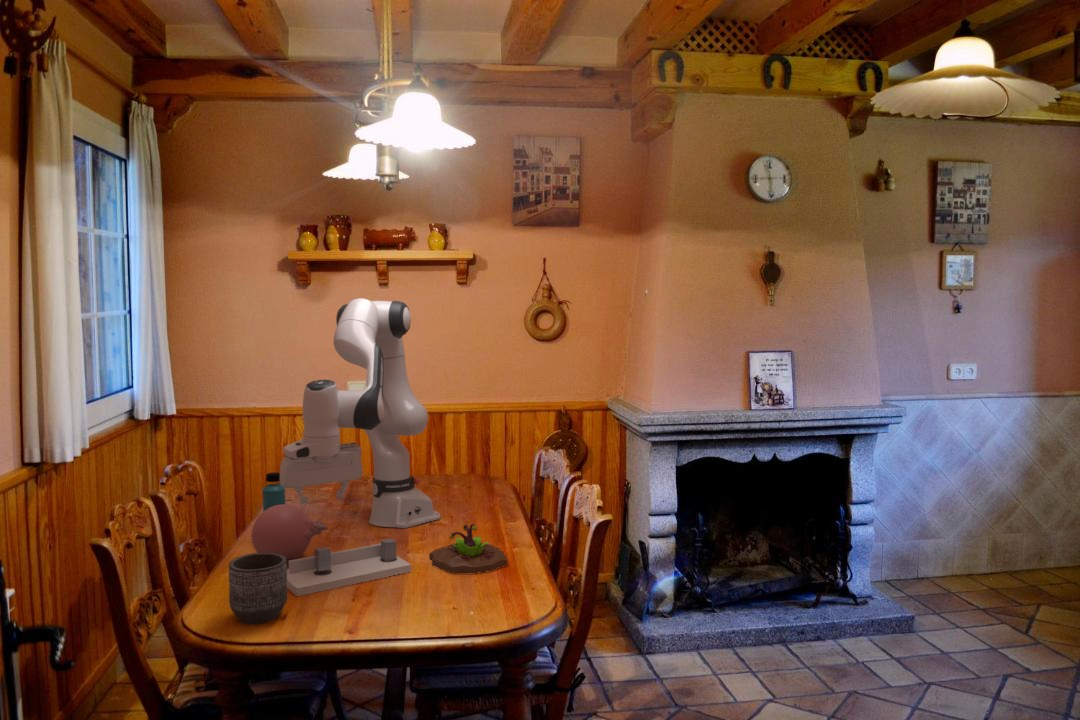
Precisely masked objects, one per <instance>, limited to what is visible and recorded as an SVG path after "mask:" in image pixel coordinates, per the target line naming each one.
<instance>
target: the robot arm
mask: <svg viewBox="0 0 1080 720" xmlns="http://www.w3.org/2000/svg"><path fill="white" fill-rule="evenodd" d="M336 313H337V314H336V327H335V331H334V333H333V334H334V335H333V347H334V350H335V351H336V352H337V354H338V356H340V357H341V358H342V359H343V360H344V361H346V362H348V363H349V364H351V365H356V366H359V367H361V368H363V369H365V370H366V377H365V379H366V380H365V387H364V388H363V389H359V390H341V389H338V386H337V383H336V382H335V381H333V380H330V379H316V380H313V381H309V382H308V383H307V384H305V386H304V387H305V388H304V391H303V396H302V399H303V400H302V420H303V424H304V427H303V428H304V429H303V430H302V431H303V432H302V438H301V439H299V440H297V441H295V442H292V443H290V444H287V445H286V446H284V447H283V454H284V455H285V456H284V457H283V458H282V460H281V462H280V466H279V467H280V468H279V469H280V470H279V473H280V481H279V484H281V485H282V486H283V487H285V490H286V489H287V490H288V489H294V491H295V492H296V494H297V495H298V497H299V504H300V505H307V504H308V503H309V502H308V500H309V497H308V496H307V495H304V494H303V491H304V487H309V486H311V487H312V486H317V485H324V484H331V483H339V482H340V484H341V486H340V488H339V490H336V498H337V499H338V500H341V499H345V497H346V496H345V492H346V490H347V488H348V487H349V485H350V484H349V483H350V482H349V481H352V480H359V479H361V477H362V476H363V467H362V460H361V456H362V447H361V446H360V444H358V443H356V442H350V443H341V437H340V436H341V435H340V434H341V433H340V432H341V431H340V428H342V429H344V428H345V429H358V430H363V431H364V432H365V433H366V435H367V437H368V440H369V443H370V446H371V449H372V455H373V456H372V457H373V474H374V475H373V477H372V496H373V498H372V499H373V500H372V505H371V507H372V508H371V513H370V517H369V520H368V522H369V524H370V525H373V526H377V527H383V528H384V527H385V528H398V529H407V528H411V527H414V526H418V525H423V524H427V523H430V521H431V522H435V521H439V520H441V514H440V513H439V512H438V511H436V510H434V505H433V501H432V499H431V497H429V495H427V494H425V493H424V492H423V491H421V490H420V489H419V488H417V487H416V486H415V485H418V486H419V485H420V484H421V483H422V480H421V479H420V478H418V477H413V476H412V475H410V469H411V467H410V466H411V465H410V463H411V461H410V459H411V458H410V455H411V454H410V451H409V450H408V448H407V447H406V446H405V445H404V444H403V443H402V441H401V439H400V437H399V436H403V437H408V436H409V437H410V436H416V435H420V434H422V433H423V432H424V431H425V429H426V428H427V426H428V423H429V413H428V409H427V408H426V407H425V406H424V404H422V403H421V402H420V401H419V399H417V397H416V395H415V394H414V392H413V390H412V387H411V385H410V382H409V379H408V374H407V366H406V357H405V356H406V355H405V346H404V341H403V336H405V335H406V334H407V333H409V331H410V328H411V322H412V316H411V311H410V307H409V306H408V305H407V304H406V303H405V302H404V301H403V302H402V301H399V300H392V301H390V300H372V301H371V300H369V299H367V298H365V297H364V298H354V299H352V300H350V301H349V302H348V303H346V304H343V305H341V307H339V309H338V310H337V312H336ZM438 519H439V520H438ZM434 520H435V521H434ZM426 522H427V523H426ZM422 523H423V524H422Z"/></svg>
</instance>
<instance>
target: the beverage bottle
mask: <svg viewBox="0 0 1080 720" xmlns="http://www.w3.org/2000/svg"><path fill="white" fill-rule="evenodd" d="M265 482H268V484H266V485H265V486H264V487H263V488H262V512H264V511H265V510H266V509H268V508H270V507H272V506H275V505H280V504H286V503H287V500H286V488H285V487H283V486H282V485H281V484H280V483H277V482H280V472H274V471H273V472H269V473H266V476H265Z"/></svg>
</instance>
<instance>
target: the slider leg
mask: <svg viewBox="0 0 1080 720" xmlns="http://www.w3.org/2000/svg"><path fill="white" fill-rule="evenodd" d="M331 553H332V551H331V549H330V547H328V546H322V547H316V548H314V556H315V569H317V570H318V571H324V570H329V569H331Z"/></svg>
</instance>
